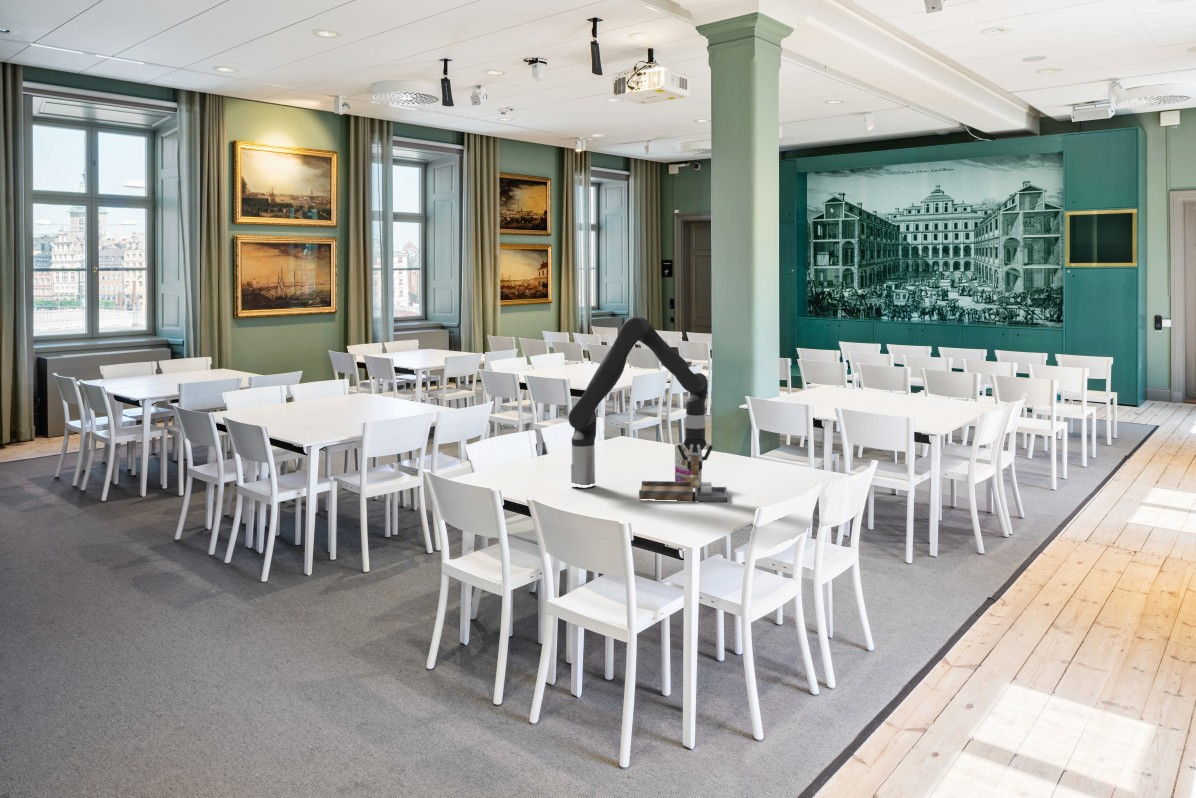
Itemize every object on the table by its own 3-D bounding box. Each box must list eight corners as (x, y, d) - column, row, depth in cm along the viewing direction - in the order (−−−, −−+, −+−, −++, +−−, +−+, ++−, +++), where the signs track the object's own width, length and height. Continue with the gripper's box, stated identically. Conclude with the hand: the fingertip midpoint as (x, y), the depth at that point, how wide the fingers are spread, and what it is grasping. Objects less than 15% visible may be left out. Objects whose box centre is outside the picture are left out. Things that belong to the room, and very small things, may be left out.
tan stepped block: (690, 487, 339) (690, 458, 338) (690, 480, 350) (691, 452, 349) (698, 487, 339) (698, 458, 338) (698, 480, 350) (699, 452, 348)
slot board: (639, 501, 340) (639, 490, 339) (641, 490, 356) (641, 480, 355) (692, 501, 338) (692, 491, 337) (692, 491, 353) (692, 481, 353)
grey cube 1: (701, 484, 346) (711, 484, 345) (701, 482, 350) (711, 482, 349) (700, 494, 346) (711, 494, 346) (701, 492, 350) (711, 492, 350)
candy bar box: (702, 485, 363) (702, 445, 360) (693, 487, 360) (693, 447, 357) (683, 481, 371) (683, 442, 369) (674, 482, 368) (674, 443, 366)
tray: (695, 501, 338) (695, 496, 337) (695, 491, 353) (695, 486, 353) (727, 502, 336) (727, 497, 336) (726, 492, 352) (726, 487, 352)
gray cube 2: (700, 487, 341) (711, 487, 340) (700, 485, 345) (711, 485, 344) (700, 498, 341) (711, 498, 341) (700, 495, 345) (711, 495, 345)
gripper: (676, 427, 339) (676, 472, 341) (714, 428, 337) (713, 473, 340) (677, 424, 346) (676, 468, 349) (713, 424, 344) (713, 468, 347)
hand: (694, 470), depth 344 cm, fingers closed on tan stepped block, 3 cm apart
